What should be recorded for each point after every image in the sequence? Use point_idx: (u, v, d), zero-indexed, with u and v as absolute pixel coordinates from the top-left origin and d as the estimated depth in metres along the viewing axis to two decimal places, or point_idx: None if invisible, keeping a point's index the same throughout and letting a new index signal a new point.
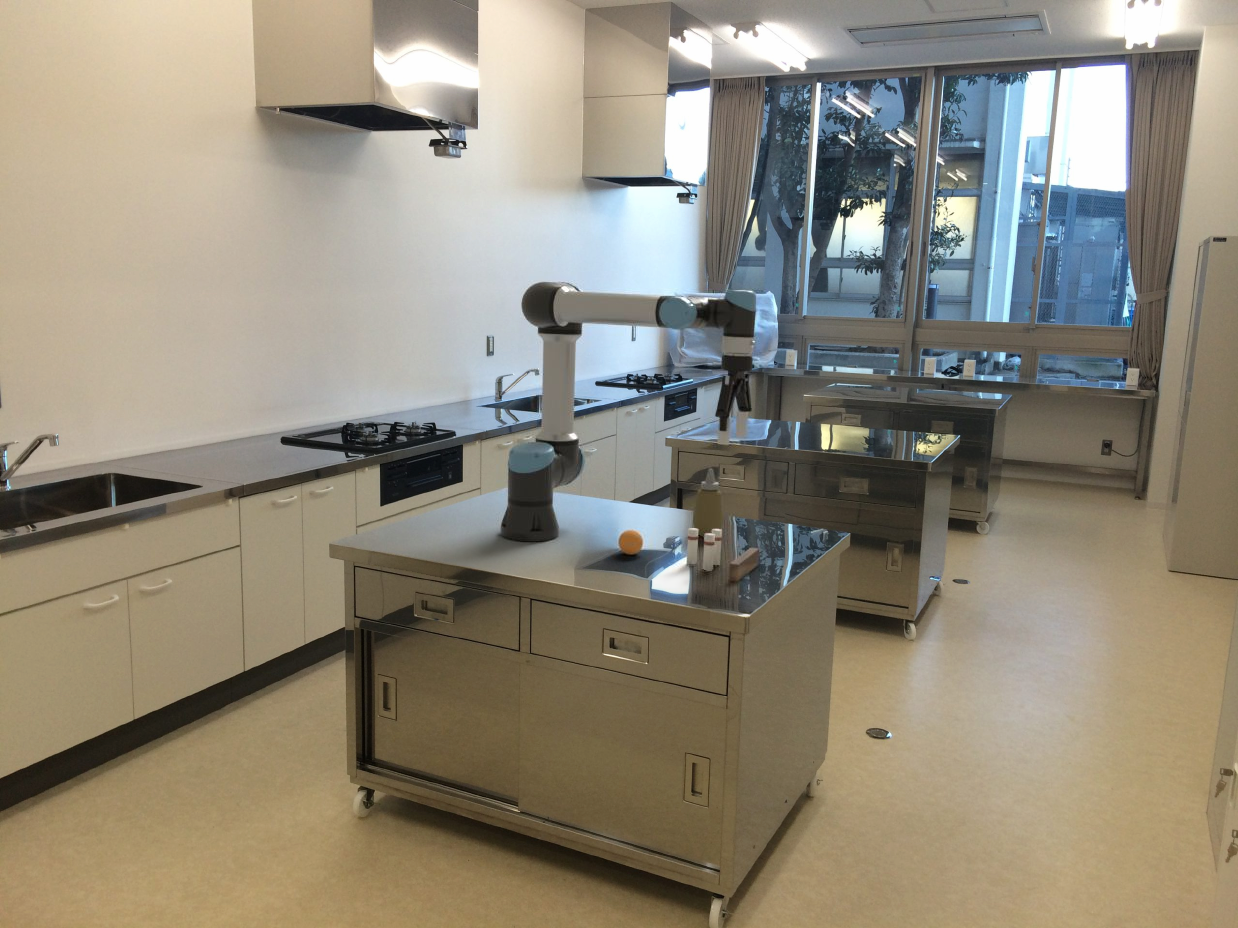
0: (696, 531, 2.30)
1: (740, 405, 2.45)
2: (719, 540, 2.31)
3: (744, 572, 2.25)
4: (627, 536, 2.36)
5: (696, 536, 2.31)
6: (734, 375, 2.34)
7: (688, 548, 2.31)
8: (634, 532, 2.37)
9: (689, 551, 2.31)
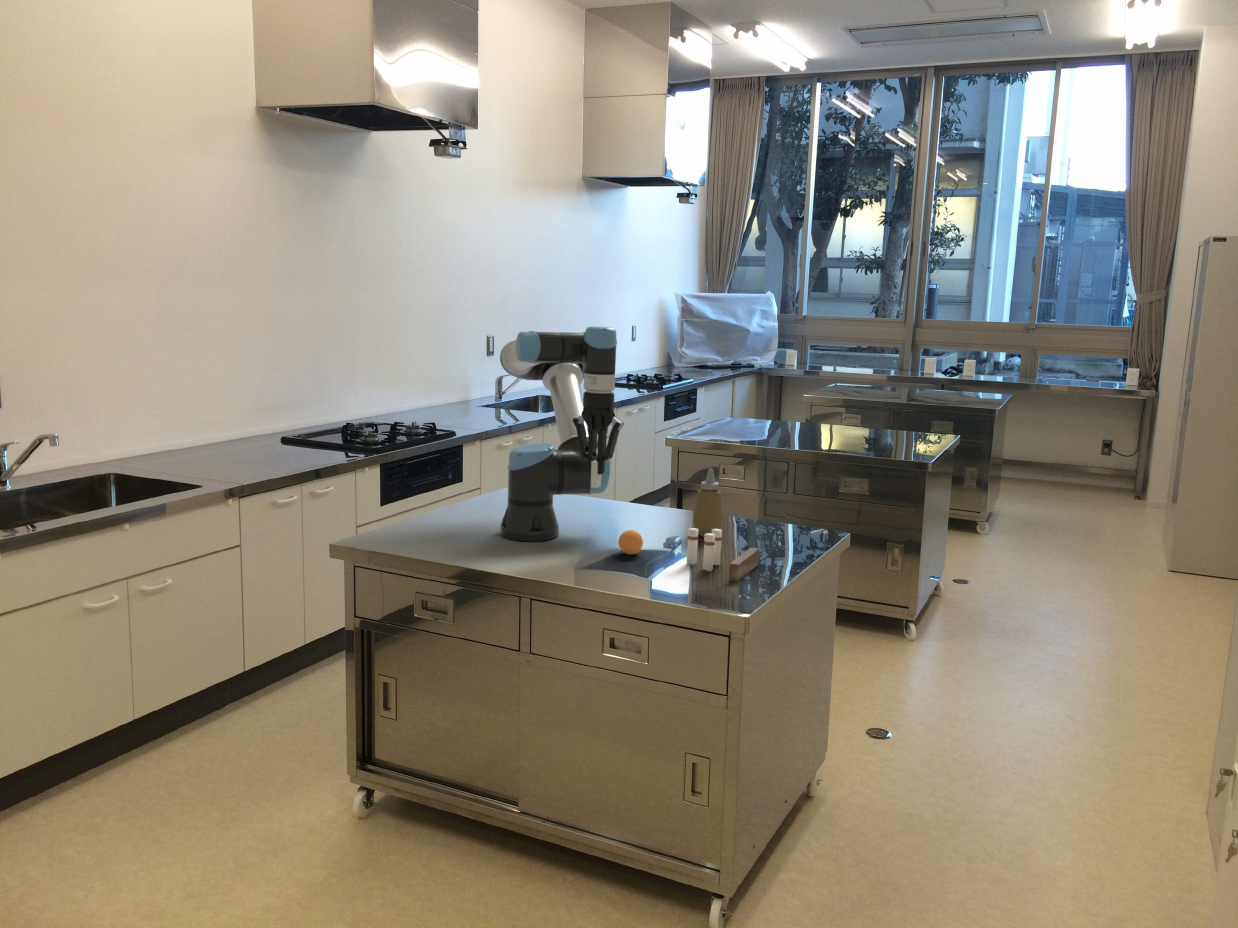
0: (696, 531, 2.30)
1: None
2: (719, 540, 2.31)
3: (744, 572, 2.25)
4: (627, 536, 2.36)
5: (696, 536, 2.31)
6: (583, 410, 2.38)
7: (688, 548, 2.31)
8: (634, 532, 2.37)
9: (689, 551, 2.31)
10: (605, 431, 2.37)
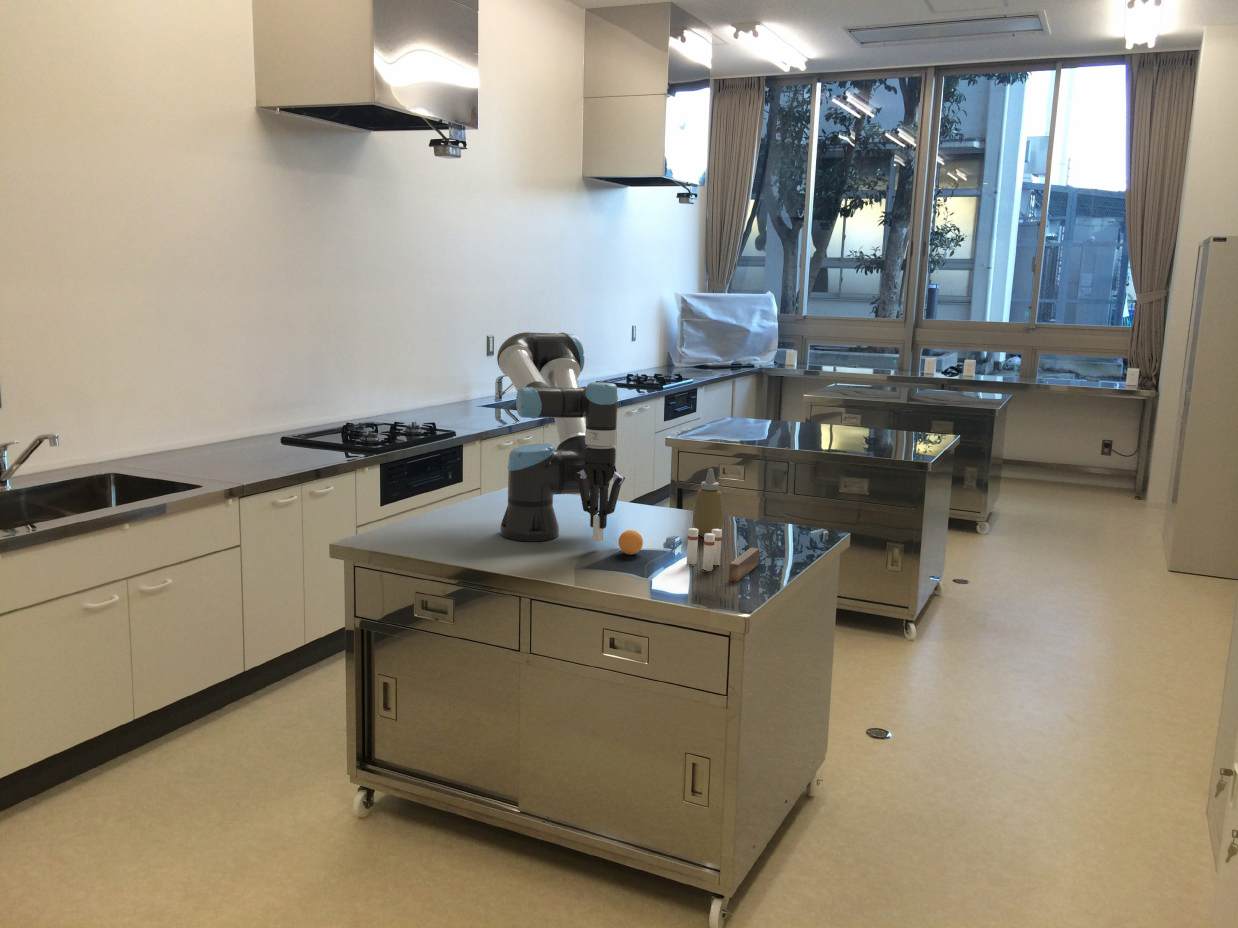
0: (696, 531, 2.30)
1: None
2: (719, 540, 2.31)
3: (744, 572, 2.25)
4: (627, 536, 2.36)
5: (696, 536, 2.31)
6: (584, 464, 2.40)
7: (688, 548, 2.31)
8: (634, 532, 2.37)
9: (689, 551, 2.31)
10: (606, 486, 2.39)
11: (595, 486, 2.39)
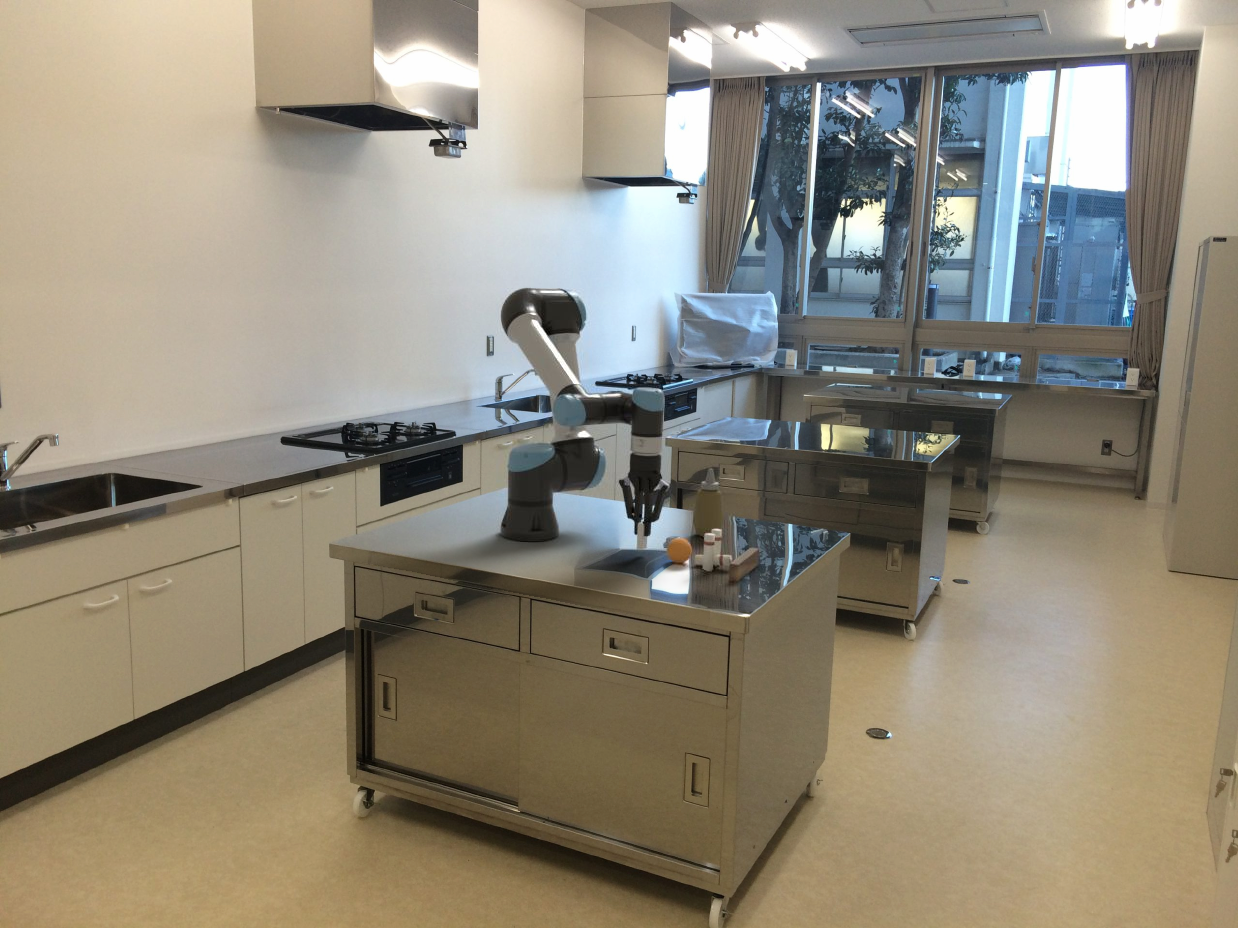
0: (728, 564, 2.28)
1: None
2: (719, 540, 2.31)
3: (744, 572, 2.25)
4: (669, 556, 2.32)
5: (723, 565, 2.29)
6: (629, 471, 2.35)
7: None
8: None
9: None
10: (651, 493, 2.35)
11: (640, 493, 2.35)
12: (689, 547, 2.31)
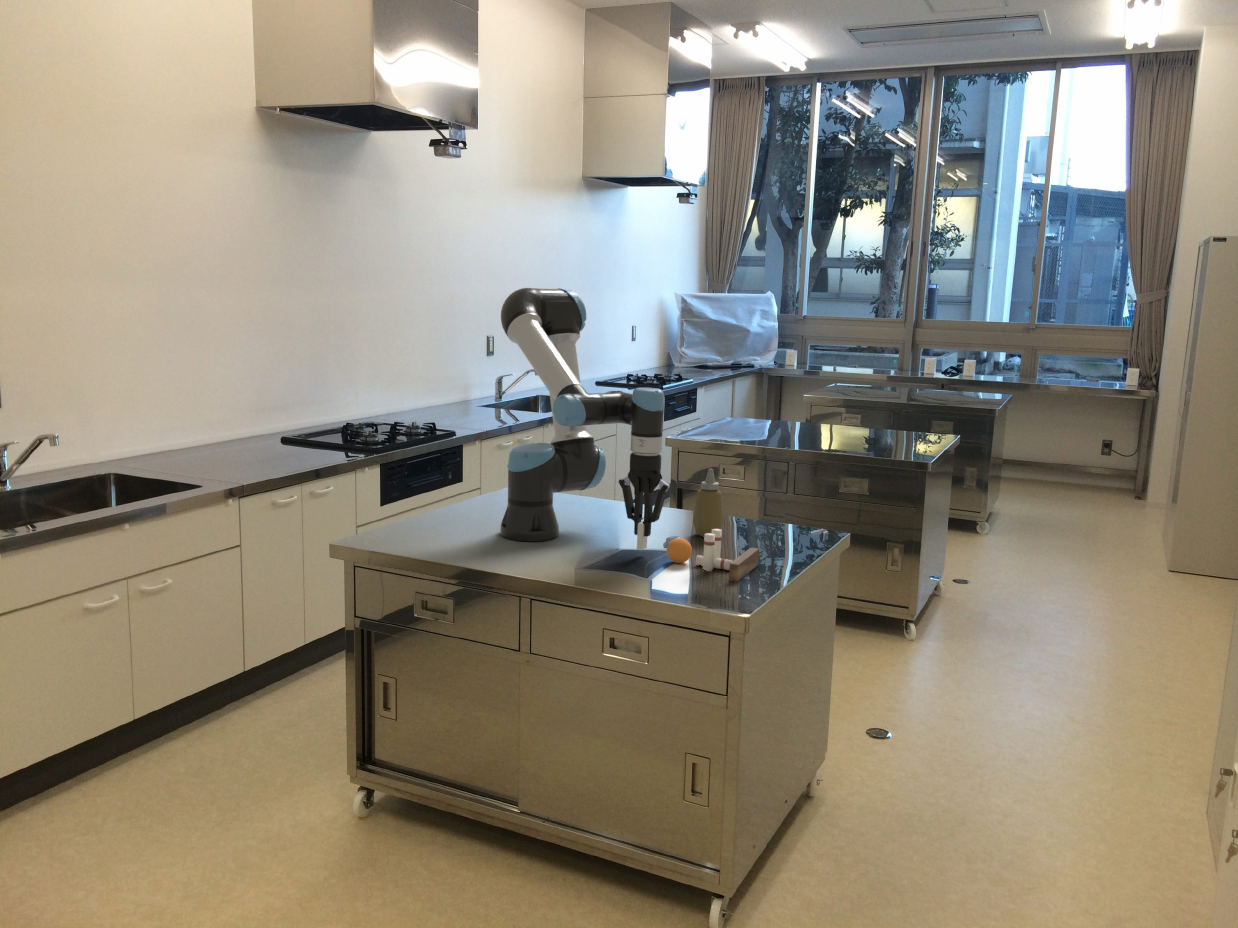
0: (729, 569, 2.28)
1: None
2: (719, 540, 2.31)
3: (744, 572, 2.25)
4: (669, 556, 2.32)
5: (724, 569, 2.29)
6: (629, 471, 2.35)
7: None
8: None
9: None
10: (651, 493, 2.35)
11: (640, 493, 2.35)
12: (689, 547, 2.31)
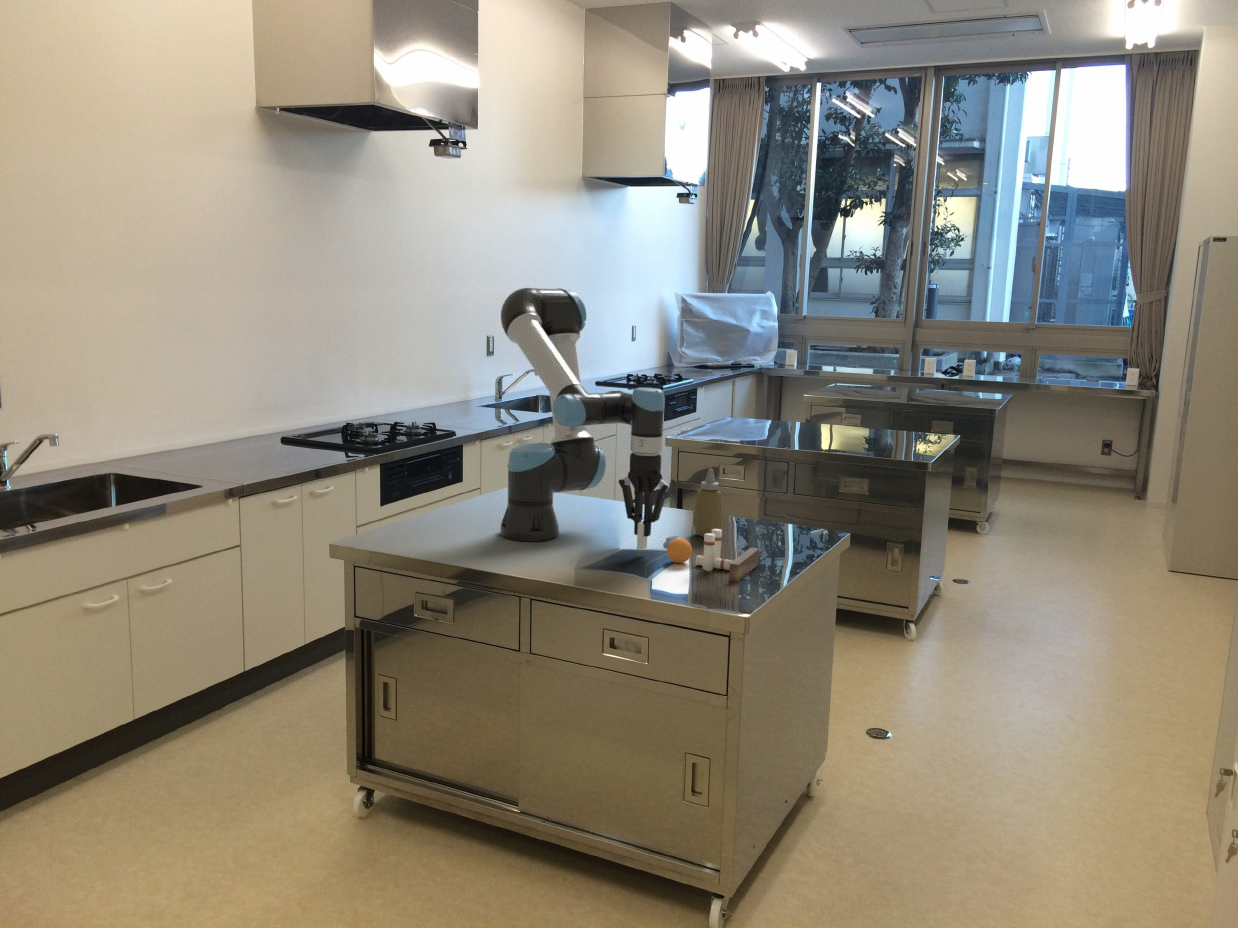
0: (729, 569, 2.28)
1: None
2: (719, 540, 2.31)
3: (744, 572, 2.25)
4: (669, 556, 2.32)
5: (724, 569, 2.29)
6: (629, 471, 2.35)
7: None
8: None
9: None
10: (651, 493, 2.35)
11: (640, 493, 2.35)
12: (689, 547, 2.31)
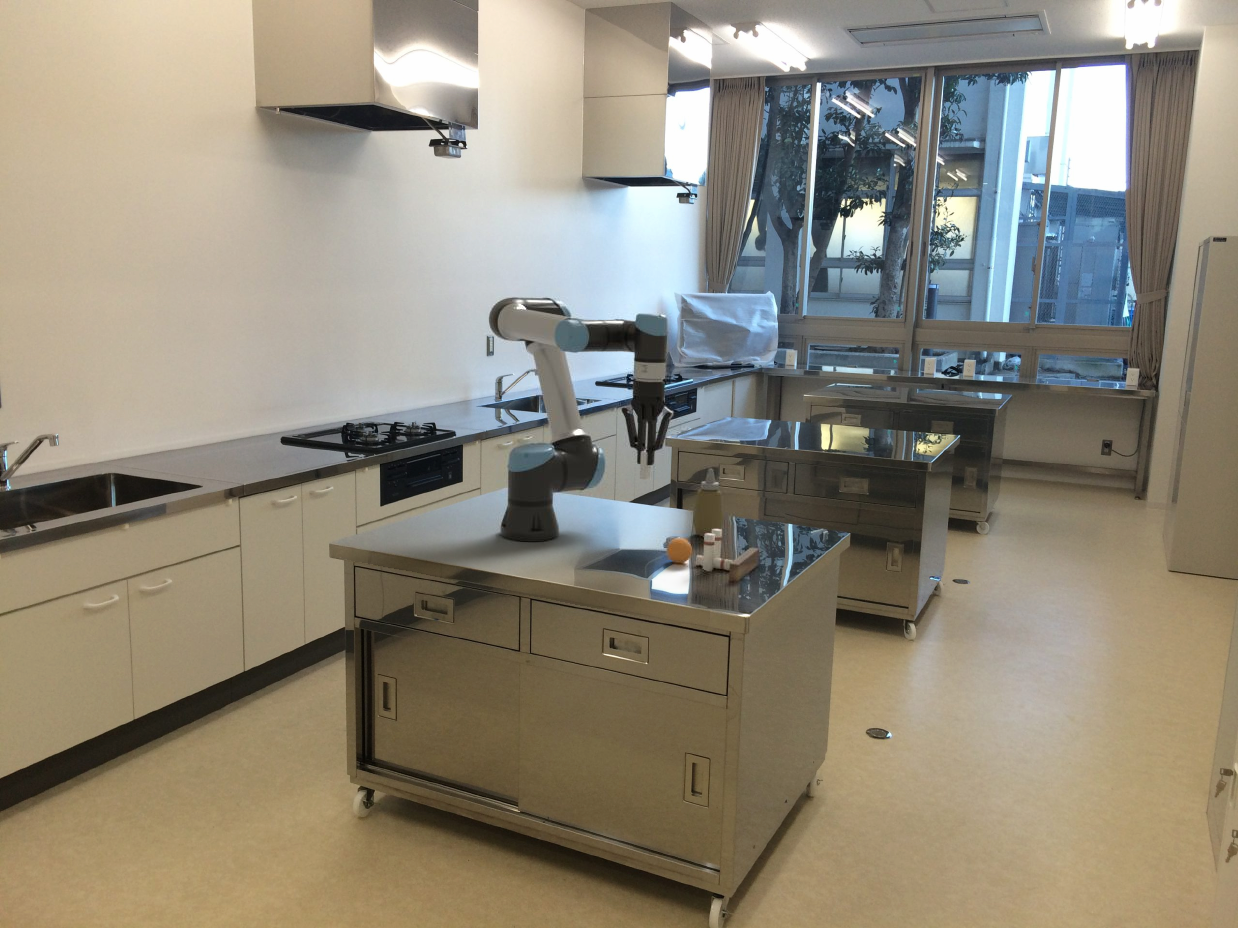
0: (729, 569, 2.28)
1: None
2: (719, 540, 2.31)
3: (744, 572, 2.25)
4: (669, 556, 2.32)
5: (724, 569, 2.29)
6: (632, 399, 2.32)
7: None
8: None
9: None
10: (655, 421, 2.31)
11: (643, 421, 2.32)
12: (689, 547, 2.31)
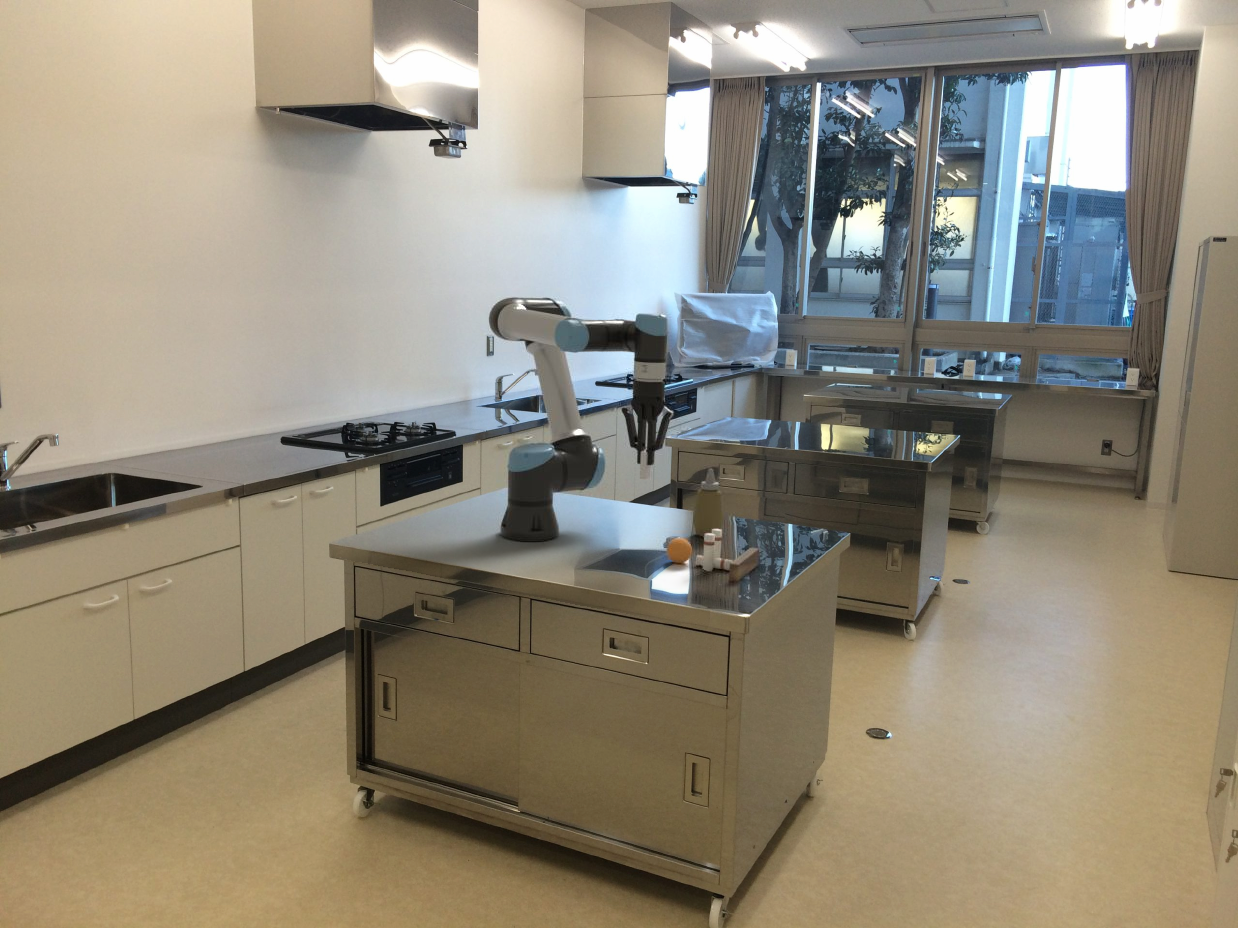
0: (729, 569, 2.28)
1: None
2: (719, 540, 2.31)
3: (744, 572, 2.25)
4: (669, 556, 2.32)
5: (724, 569, 2.29)
6: (632, 399, 2.32)
7: None
8: None
9: None
10: (655, 421, 2.31)
11: (643, 421, 2.32)
12: (689, 547, 2.31)
